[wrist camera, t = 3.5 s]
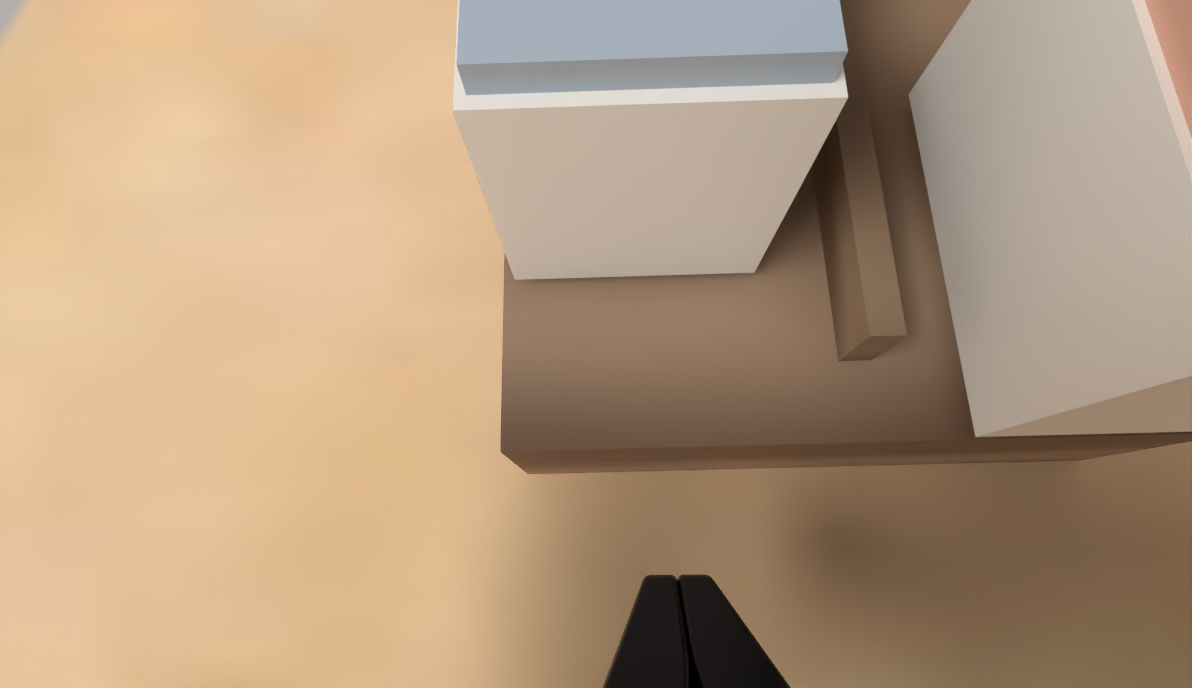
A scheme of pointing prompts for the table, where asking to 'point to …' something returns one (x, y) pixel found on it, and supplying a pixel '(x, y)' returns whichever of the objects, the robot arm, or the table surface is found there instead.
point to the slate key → (644, 127)
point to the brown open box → (778, 320)
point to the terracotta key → (1065, 211)
